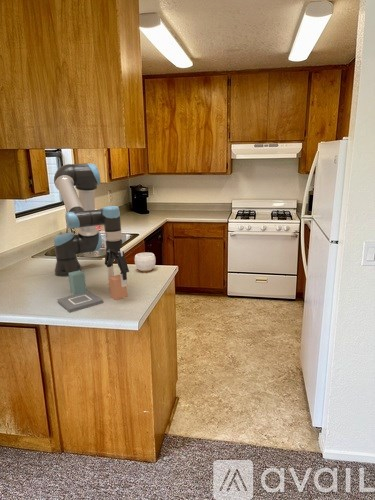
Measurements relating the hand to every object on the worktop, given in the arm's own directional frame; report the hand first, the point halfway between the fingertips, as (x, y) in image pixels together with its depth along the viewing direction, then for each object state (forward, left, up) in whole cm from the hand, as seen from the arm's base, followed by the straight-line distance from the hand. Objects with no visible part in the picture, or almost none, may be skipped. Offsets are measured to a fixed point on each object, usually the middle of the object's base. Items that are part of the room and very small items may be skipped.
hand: (117, 282), depth 171 cm
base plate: (-6, -17, -7) cm, 19 cm away
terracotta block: (0, 0, -7) cm, 7 cm away
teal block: (-21, -12, -7) cm, 25 cm away
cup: (-27, +32, -8) cm, 43 cm away
